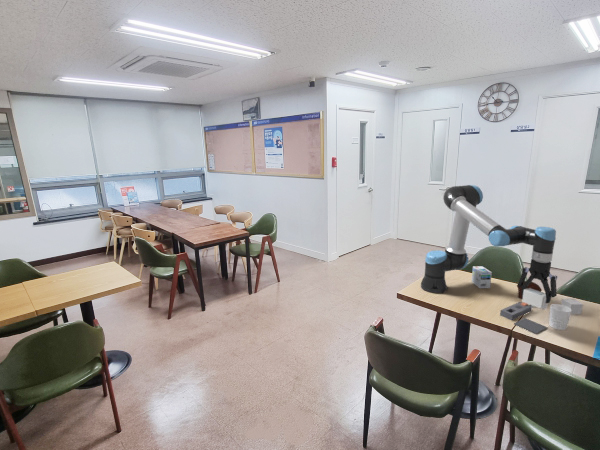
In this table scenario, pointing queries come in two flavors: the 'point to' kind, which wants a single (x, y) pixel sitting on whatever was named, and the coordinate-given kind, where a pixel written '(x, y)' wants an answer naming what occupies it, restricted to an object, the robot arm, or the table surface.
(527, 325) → the mat
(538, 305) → the block
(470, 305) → the table surface
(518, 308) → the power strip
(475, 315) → the table surface
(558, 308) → the white cup
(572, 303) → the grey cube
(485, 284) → the light bulb box
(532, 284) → the muffin
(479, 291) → the table surface
